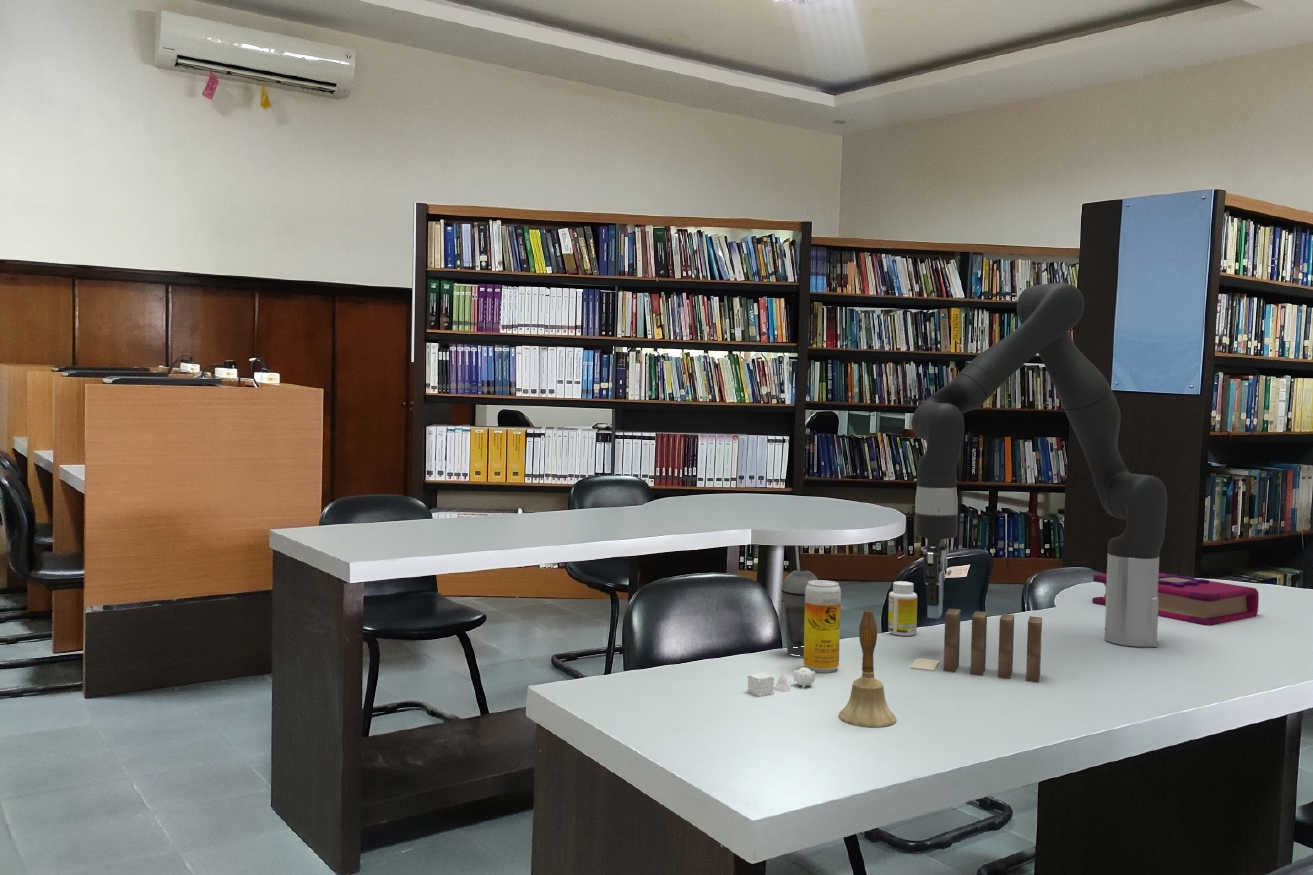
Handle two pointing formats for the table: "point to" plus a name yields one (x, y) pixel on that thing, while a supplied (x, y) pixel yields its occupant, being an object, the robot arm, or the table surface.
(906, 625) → the supplement bottle
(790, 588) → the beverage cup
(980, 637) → the domino
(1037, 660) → the domino
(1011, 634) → the domino
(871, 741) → the table surface
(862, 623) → the hand bell
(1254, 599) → the book
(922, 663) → the plate
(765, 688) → the game pieces
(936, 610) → the domino
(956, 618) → the domino
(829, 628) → the beer can
